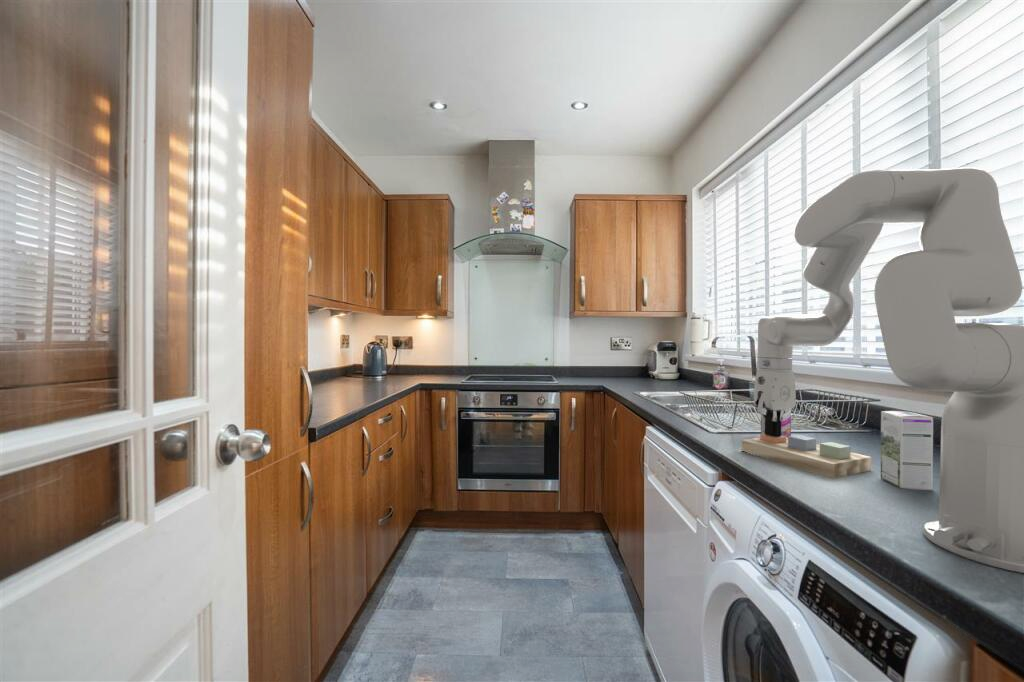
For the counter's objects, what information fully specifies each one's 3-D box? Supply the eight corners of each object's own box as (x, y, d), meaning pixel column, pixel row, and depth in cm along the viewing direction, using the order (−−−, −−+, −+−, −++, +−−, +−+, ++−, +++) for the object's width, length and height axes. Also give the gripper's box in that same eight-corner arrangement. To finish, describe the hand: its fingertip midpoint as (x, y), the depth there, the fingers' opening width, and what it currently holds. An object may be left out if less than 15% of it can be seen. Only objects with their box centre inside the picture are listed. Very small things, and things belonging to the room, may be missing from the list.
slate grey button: (805, 452, 93) (805, 440, 93) (788, 448, 97) (788, 436, 97) (816, 451, 95) (816, 438, 95) (798, 446, 98) (798, 434, 98)
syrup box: (934, 491, 77) (936, 416, 77) (898, 488, 78) (900, 415, 78) (911, 480, 83) (912, 411, 83) (878, 478, 84) (879, 409, 84)
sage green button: (839, 461, 87) (840, 448, 87) (819, 456, 90) (819, 443, 90) (850, 459, 88) (850, 446, 88) (830, 454, 92) (830, 441, 92)
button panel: (833, 478, 83) (833, 464, 83) (741, 451, 103) (741, 439, 103) (871, 470, 89) (871, 457, 89) (777, 446, 108) (777, 435, 108)
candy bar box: (771, 435, 120) (772, 381, 120) (791, 438, 117) (792, 383, 116) (759, 441, 113) (760, 384, 113) (779, 445, 109) (780, 385, 109)
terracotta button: (775, 450, 100) (775, 438, 100) (760, 446, 103) (760, 434, 103) (786, 448, 101) (786, 436, 101) (770, 444, 105) (770, 433, 105)
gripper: (769, 366, 96) (767, 442, 96) (808, 365, 102) (806, 436, 102) (740, 364, 103) (739, 434, 103) (778, 363, 109) (777, 430, 109)
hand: (772, 435), depth 102 cm, fingers closed
